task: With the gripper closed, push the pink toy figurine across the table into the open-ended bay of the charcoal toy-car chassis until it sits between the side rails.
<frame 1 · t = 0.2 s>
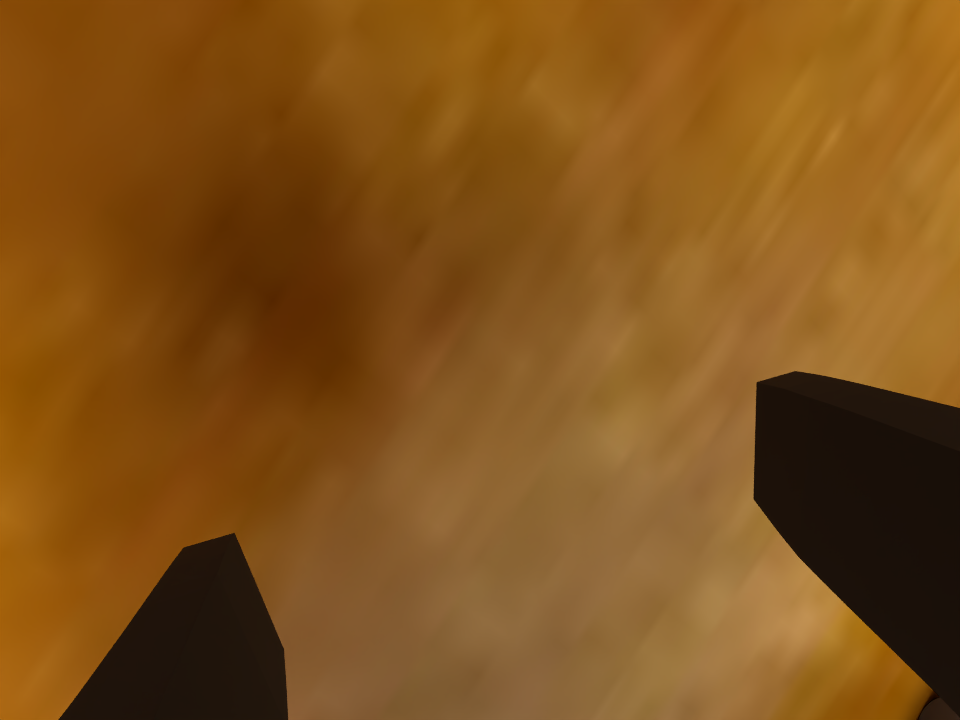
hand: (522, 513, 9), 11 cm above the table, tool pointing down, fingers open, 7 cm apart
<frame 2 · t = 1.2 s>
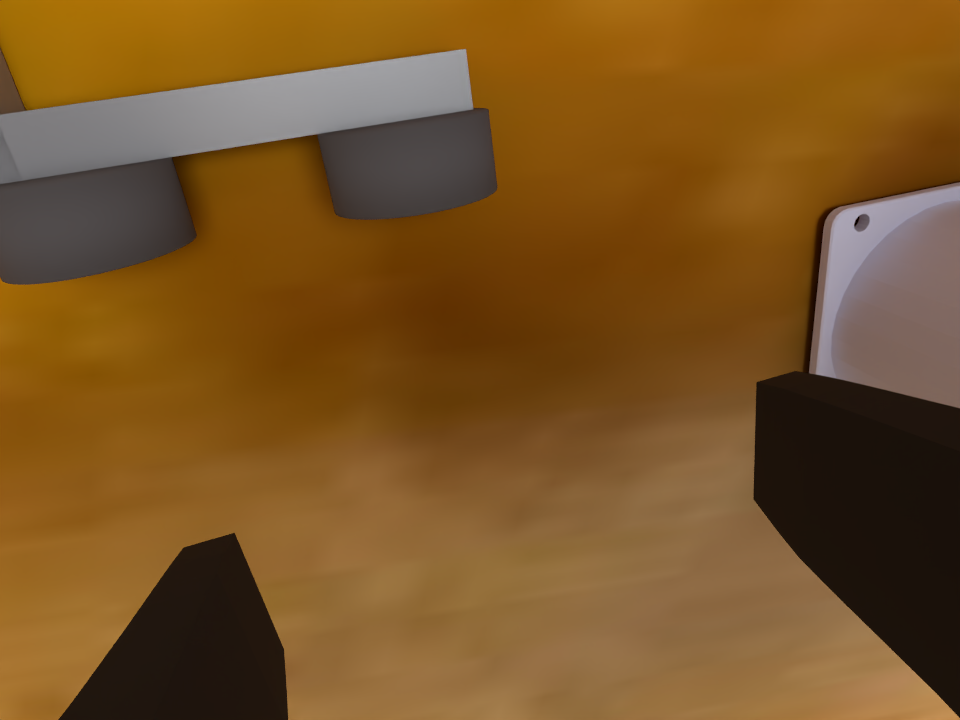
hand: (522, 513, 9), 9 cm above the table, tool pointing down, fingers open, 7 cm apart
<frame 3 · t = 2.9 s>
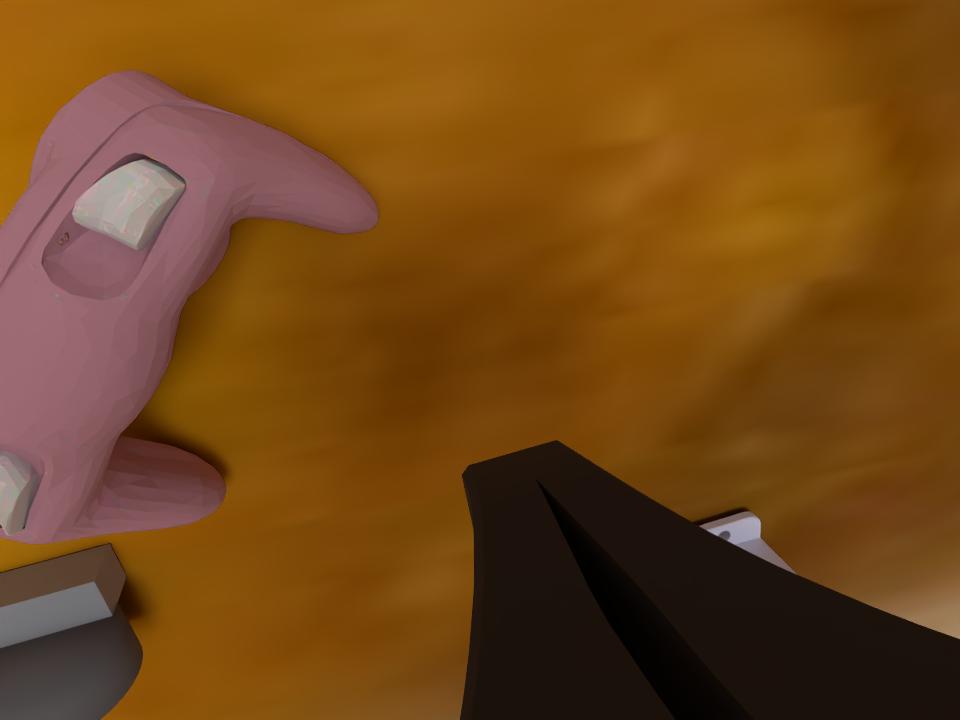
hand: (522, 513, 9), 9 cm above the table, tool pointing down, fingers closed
pink toy figurine: (186, 300, 16), on the table
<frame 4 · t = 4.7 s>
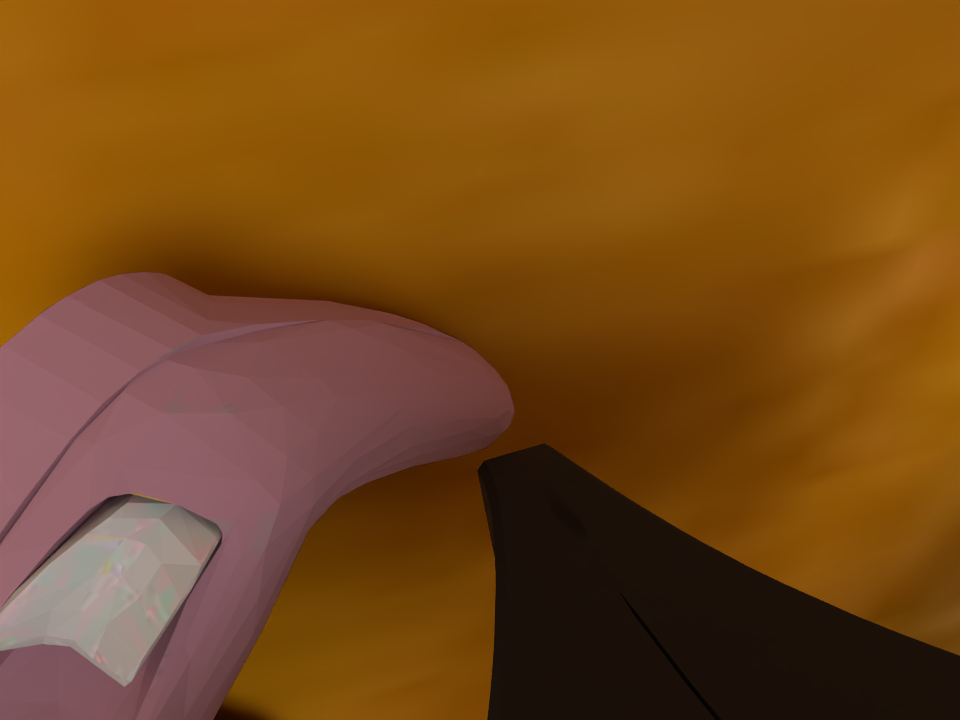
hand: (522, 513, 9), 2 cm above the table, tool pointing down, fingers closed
pink toy figurine: (214, 525, 11), on the table, touching gripper
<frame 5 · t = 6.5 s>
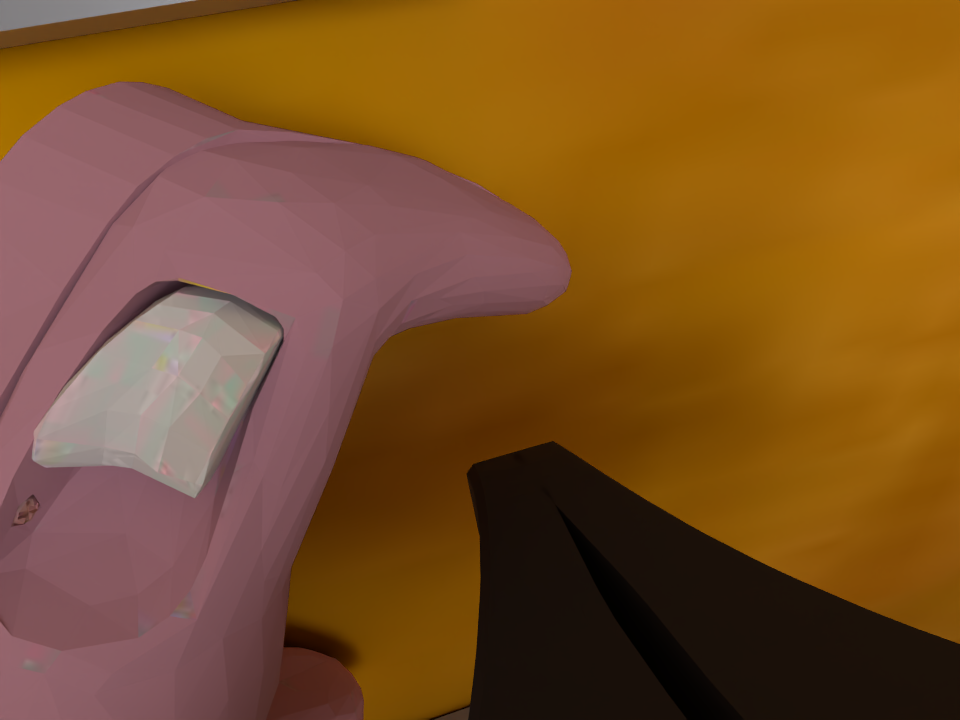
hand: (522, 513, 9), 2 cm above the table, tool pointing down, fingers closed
pink toy figurine: (266, 437, 10), on the table, touching gripper
chassis: (267, 486, 10), on the table
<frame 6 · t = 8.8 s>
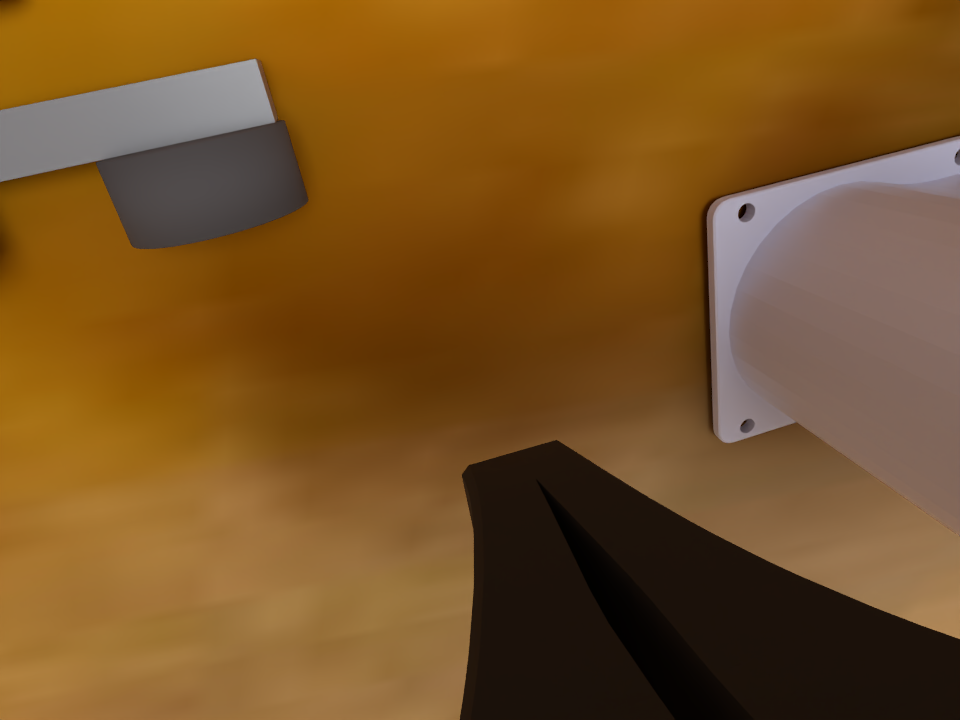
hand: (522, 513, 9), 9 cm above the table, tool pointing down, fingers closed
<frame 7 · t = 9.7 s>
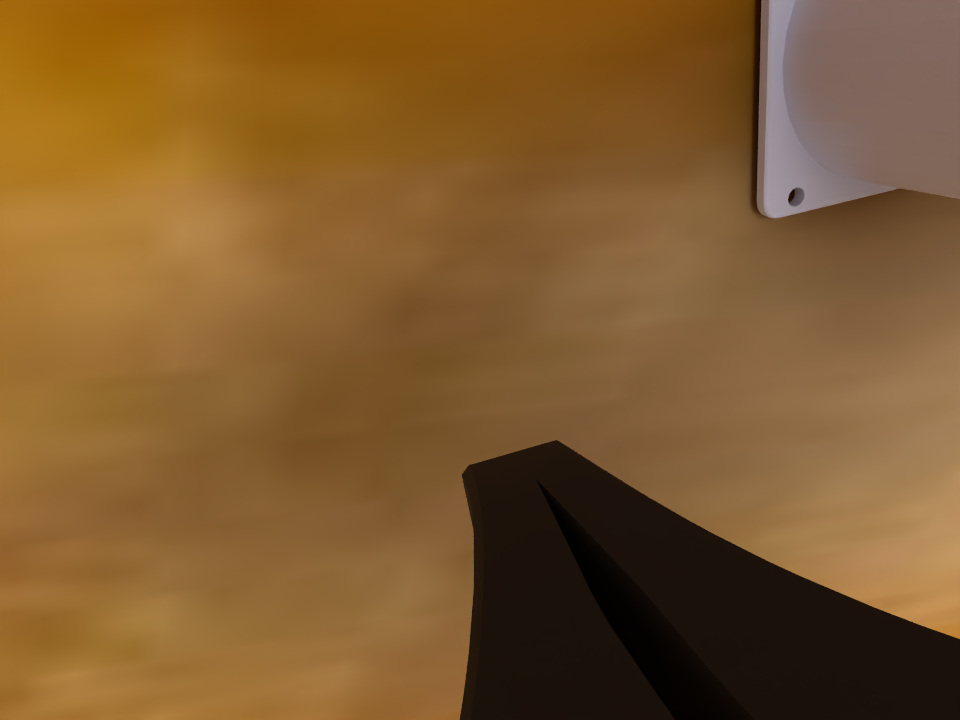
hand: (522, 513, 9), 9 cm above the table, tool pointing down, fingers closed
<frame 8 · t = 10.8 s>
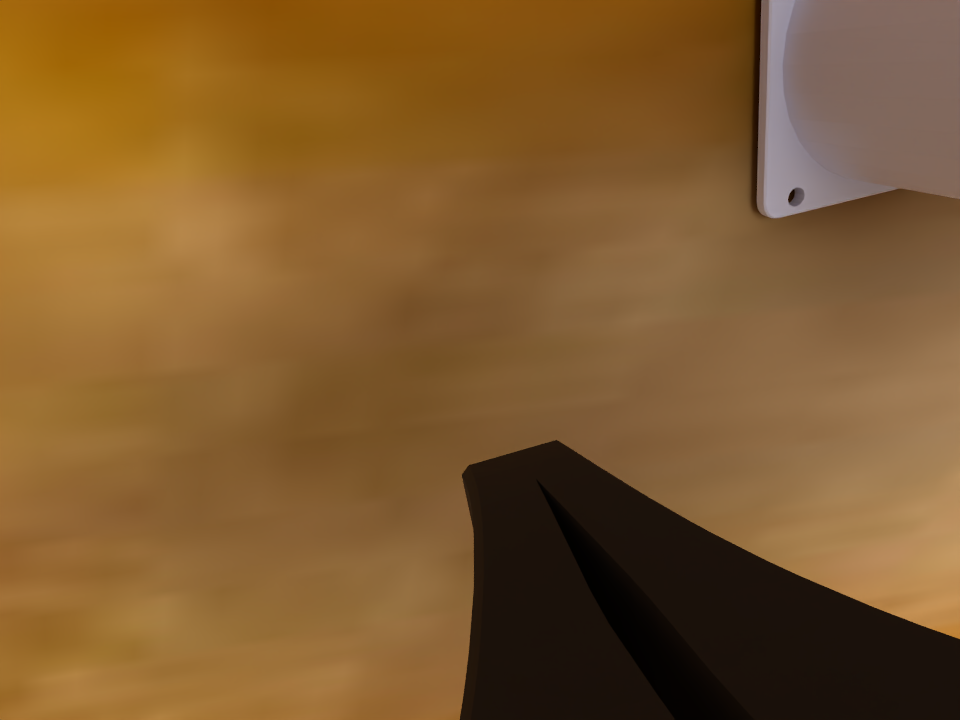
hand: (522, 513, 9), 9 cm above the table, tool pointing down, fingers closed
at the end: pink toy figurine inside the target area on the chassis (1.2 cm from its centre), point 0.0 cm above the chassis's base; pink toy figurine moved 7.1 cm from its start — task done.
